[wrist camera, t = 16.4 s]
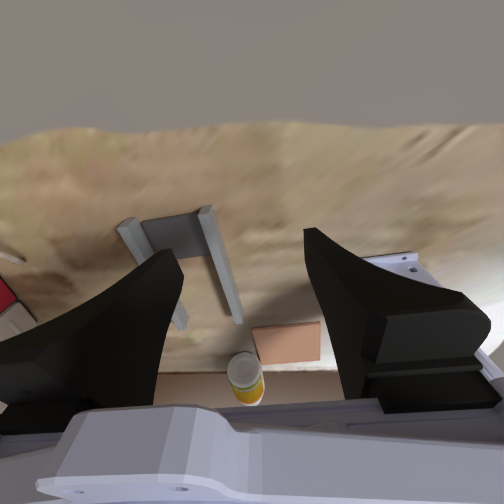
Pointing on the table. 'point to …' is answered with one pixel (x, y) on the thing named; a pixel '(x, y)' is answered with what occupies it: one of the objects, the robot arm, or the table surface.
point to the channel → (184, 249)
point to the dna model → (11, 258)
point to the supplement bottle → (246, 378)
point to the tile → (288, 343)
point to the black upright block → (13, 314)
